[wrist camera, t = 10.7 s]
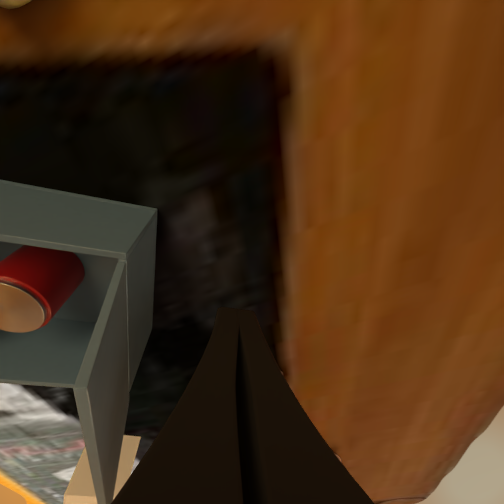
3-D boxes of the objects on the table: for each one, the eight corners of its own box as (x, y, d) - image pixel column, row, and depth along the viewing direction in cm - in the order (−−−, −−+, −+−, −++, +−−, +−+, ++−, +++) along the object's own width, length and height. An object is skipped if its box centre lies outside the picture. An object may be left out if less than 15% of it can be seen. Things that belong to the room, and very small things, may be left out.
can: (87, 292, 20) (53, 338, 16) (25, 284, 20) (-26, 330, 16) (82, 245, 18) (40, 285, 14) (11, 234, 17) (-52, 273, 14)
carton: (157, 208, 17) (126, 253, 12) (152, 328, 23) (129, 392, 18) (-55, 169, 15) (-197, 204, 10) (-3, 311, 21) (-77, 377, 16)
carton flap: (117, 261, 12) (126, 262, 12) (123, 401, 18) (129, 400, 18) (72, 389, 7) (87, 388, 7) (101, 524, 13) (109, 522, 13)
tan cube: (91, 431, 32) (63, 495, 27) (140, 436, 33) (123, 498, 28) (88, 452, 35) (62, 514, 30) (134, 456, 36) (117, 516, 31)
